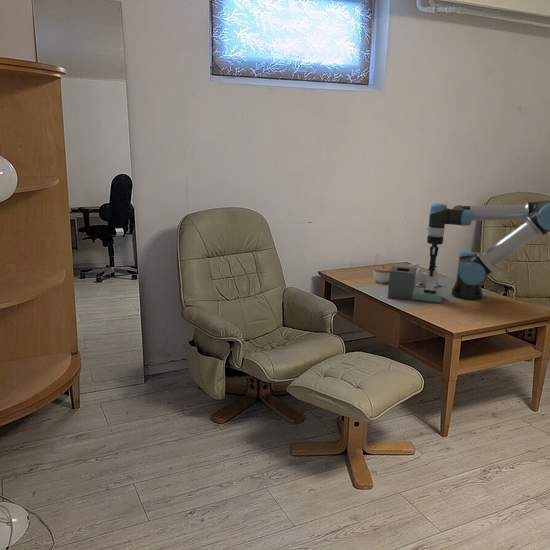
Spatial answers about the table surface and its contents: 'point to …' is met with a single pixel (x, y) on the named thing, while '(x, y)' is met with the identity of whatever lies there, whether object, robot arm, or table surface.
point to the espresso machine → (410, 287)
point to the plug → (431, 285)
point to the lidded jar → (381, 273)
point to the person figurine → (422, 276)
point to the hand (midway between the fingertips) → (430, 281)
